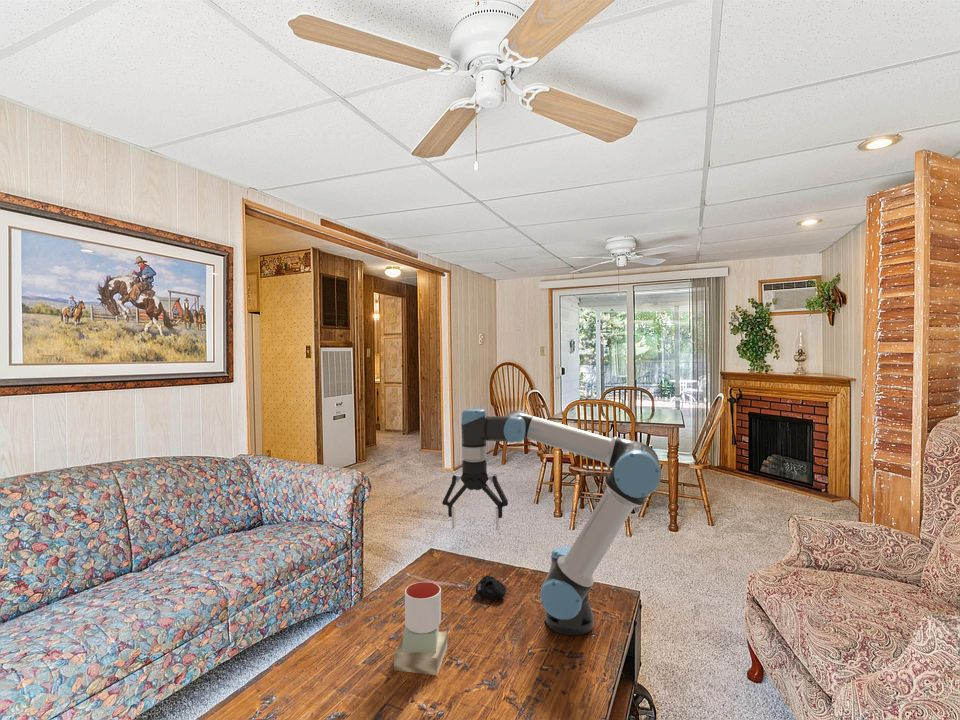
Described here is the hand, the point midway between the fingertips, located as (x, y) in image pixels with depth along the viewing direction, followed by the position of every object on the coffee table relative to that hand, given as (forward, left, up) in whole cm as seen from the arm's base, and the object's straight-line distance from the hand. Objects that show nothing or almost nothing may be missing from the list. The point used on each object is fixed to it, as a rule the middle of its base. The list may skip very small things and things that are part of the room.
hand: (475, 527), depth 150 cm
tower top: (+12, +17, -27) cm, 34 cm away
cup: (+12, +17, -22) cm, 30 cm away
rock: (-3, -22, -32) cm, 39 cm away
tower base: (+12, +17, -32) cm, 38 cm away
